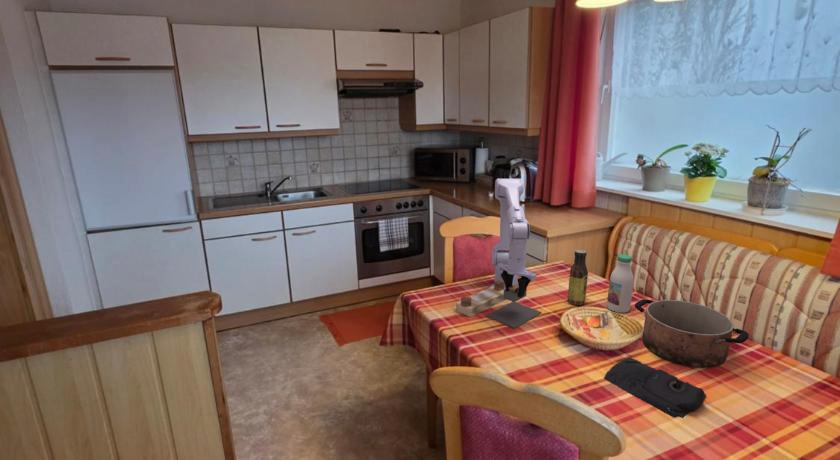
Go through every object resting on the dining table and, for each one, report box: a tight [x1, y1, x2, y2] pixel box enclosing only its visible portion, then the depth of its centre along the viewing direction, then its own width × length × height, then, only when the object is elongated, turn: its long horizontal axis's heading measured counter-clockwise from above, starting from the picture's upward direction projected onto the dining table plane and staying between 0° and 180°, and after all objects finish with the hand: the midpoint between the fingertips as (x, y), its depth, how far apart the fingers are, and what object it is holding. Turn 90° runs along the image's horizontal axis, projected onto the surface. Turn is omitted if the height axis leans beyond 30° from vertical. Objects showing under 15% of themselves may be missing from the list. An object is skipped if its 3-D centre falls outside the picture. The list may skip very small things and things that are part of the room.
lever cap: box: [503, 283, 528, 303], centre depth 156 cm, size 7×4×4 cm, turn 133°
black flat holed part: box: [603, 357, 707, 419], centre depth 118 cm, size 15×22×5 cm
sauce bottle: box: [567, 249, 589, 306], centre depth 165 cm, size 6×6×20 cm
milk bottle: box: [606, 253, 634, 314], centre depth 160 cm, size 8×8×20 cm
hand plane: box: [455, 280, 507, 318], centre depth 166 cm, size 22×7×6 cm, turn 133°
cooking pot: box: [634, 298, 750, 369], centre depth 136 cm, size 30×22×11 cm
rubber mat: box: [485, 301, 542, 330], centre depth 158 cm, size 16×12×1 cm
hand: (515, 294), depth 156 cm, fingers closed on lever cap, 4 cm apart
